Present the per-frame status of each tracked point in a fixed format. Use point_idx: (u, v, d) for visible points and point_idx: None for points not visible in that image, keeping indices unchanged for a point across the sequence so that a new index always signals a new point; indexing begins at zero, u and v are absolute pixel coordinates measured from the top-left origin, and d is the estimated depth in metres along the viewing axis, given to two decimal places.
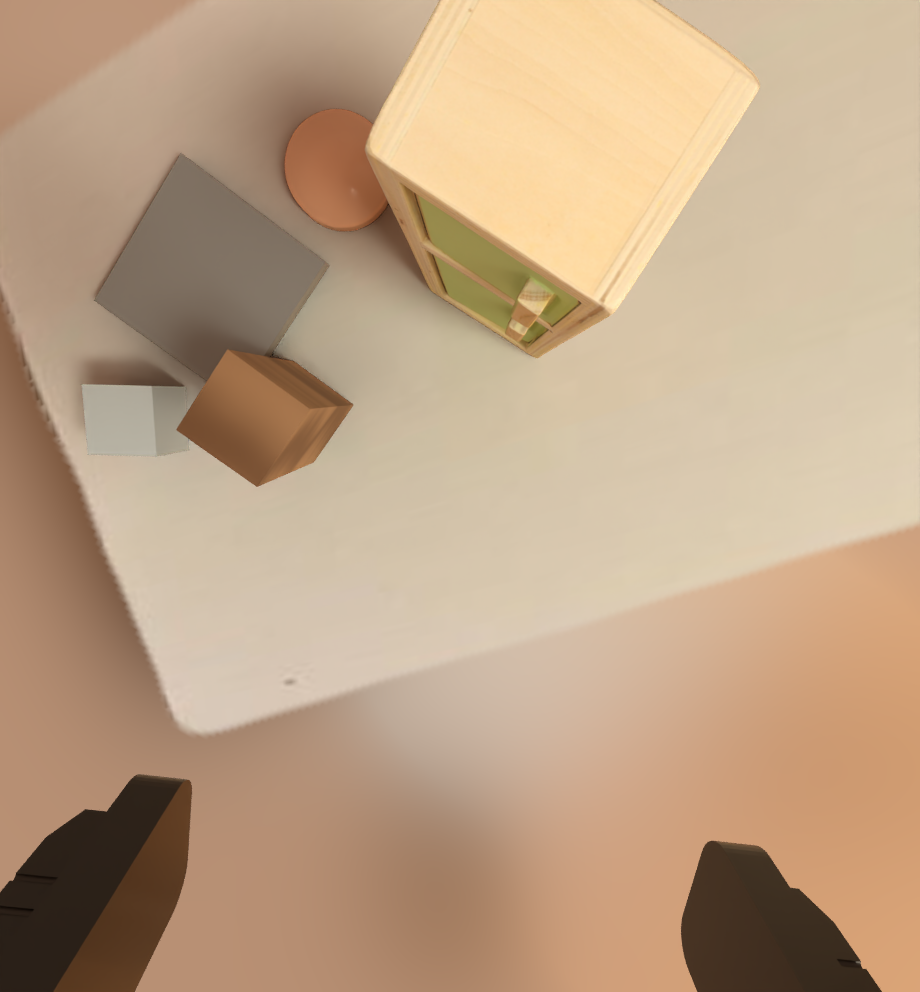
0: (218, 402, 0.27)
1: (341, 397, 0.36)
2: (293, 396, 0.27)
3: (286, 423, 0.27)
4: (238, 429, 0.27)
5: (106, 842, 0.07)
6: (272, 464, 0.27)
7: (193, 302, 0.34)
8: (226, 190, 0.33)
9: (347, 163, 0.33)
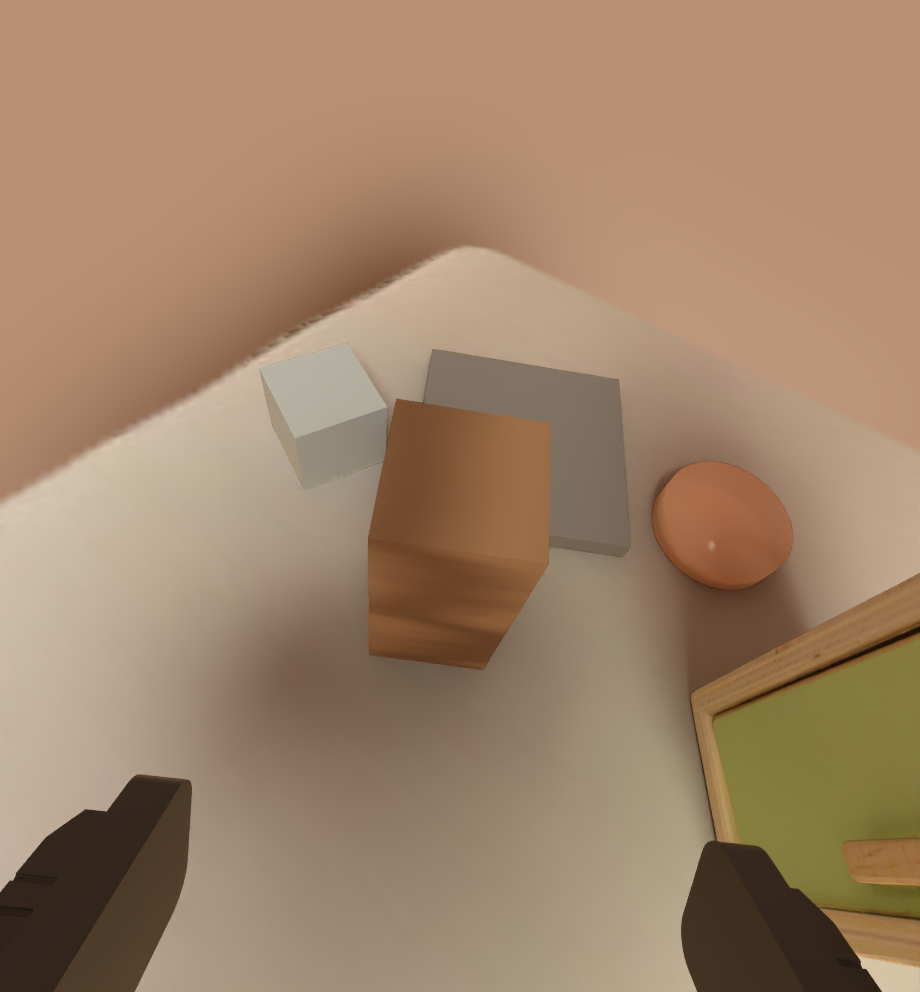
0: (471, 437, 0.16)
1: None
2: None
3: (502, 538, 0.15)
4: (447, 475, 0.15)
5: (106, 842, 0.07)
6: (420, 547, 0.14)
7: None
8: (619, 425, 0.29)
9: (740, 523, 0.26)
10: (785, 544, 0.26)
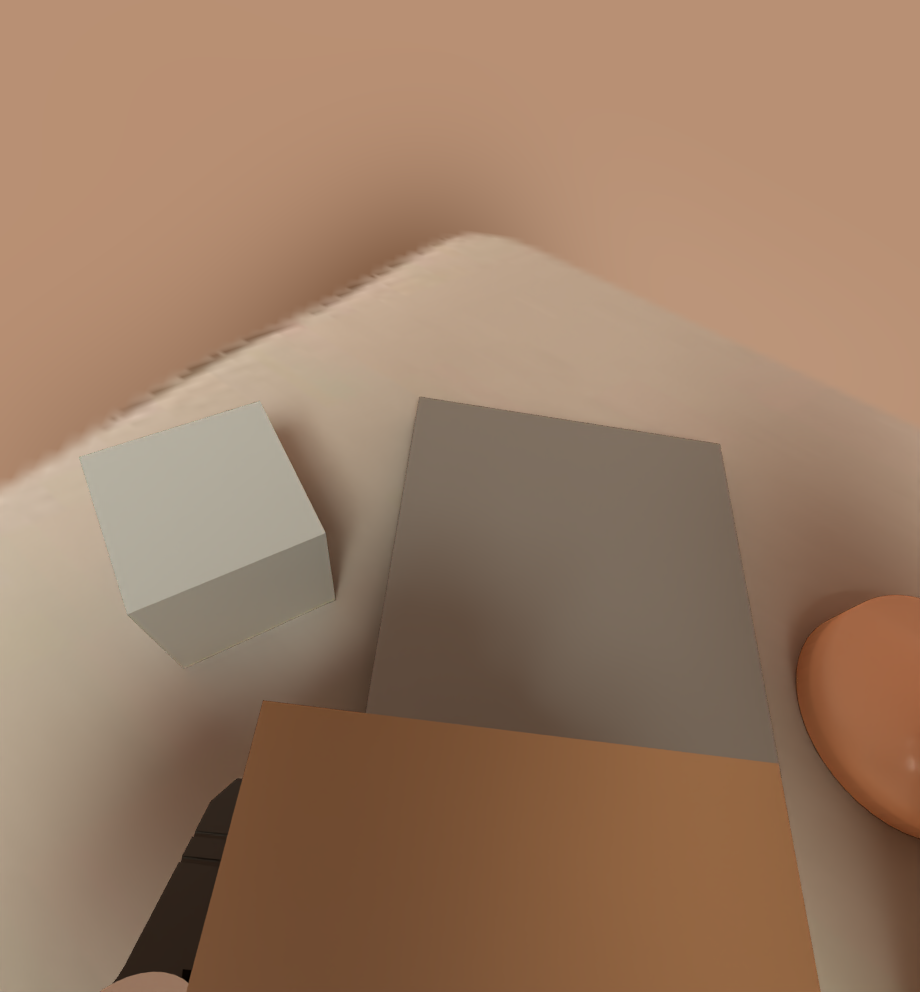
0: (523, 861, 0.04)
1: None
2: None
3: None
4: None
5: None
6: None
7: (519, 548, 0.16)
8: (731, 527, 0.17)
9: None
10: None
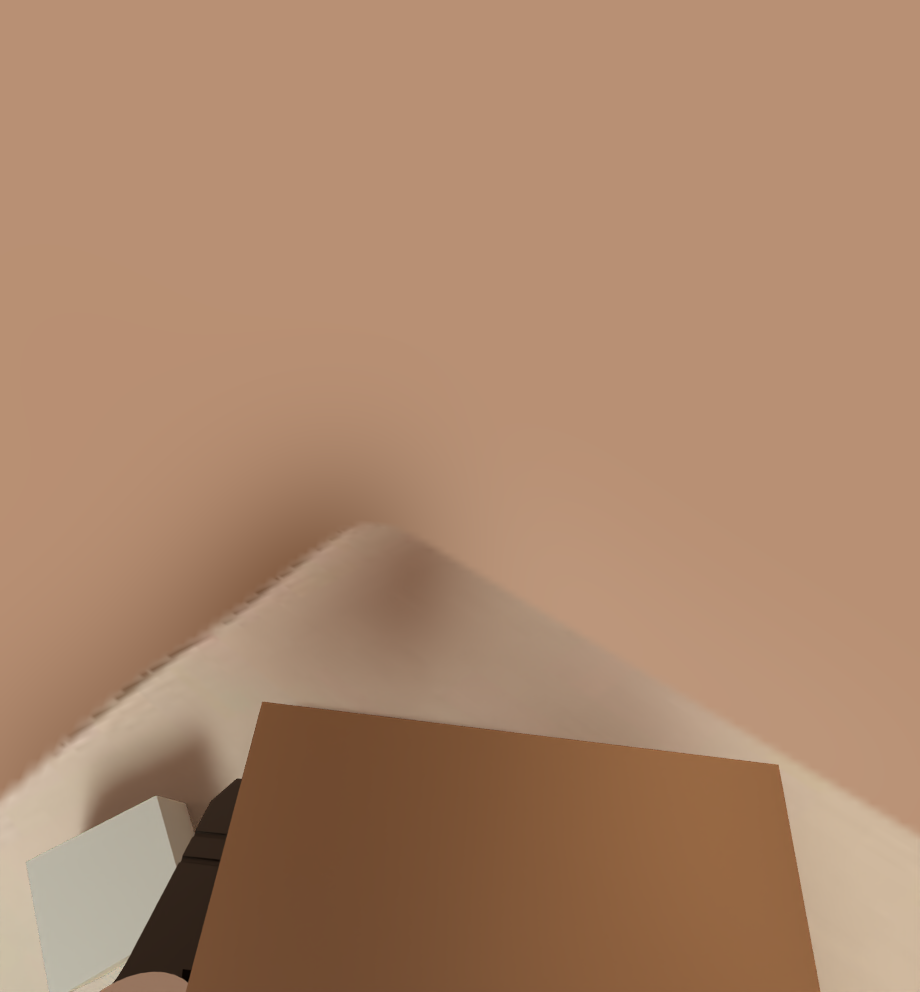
0: (523, 864, 0.04)
1: None
2: None
3: None
4: None
5: None
6: None
7: None
8: None
9: None
10: None
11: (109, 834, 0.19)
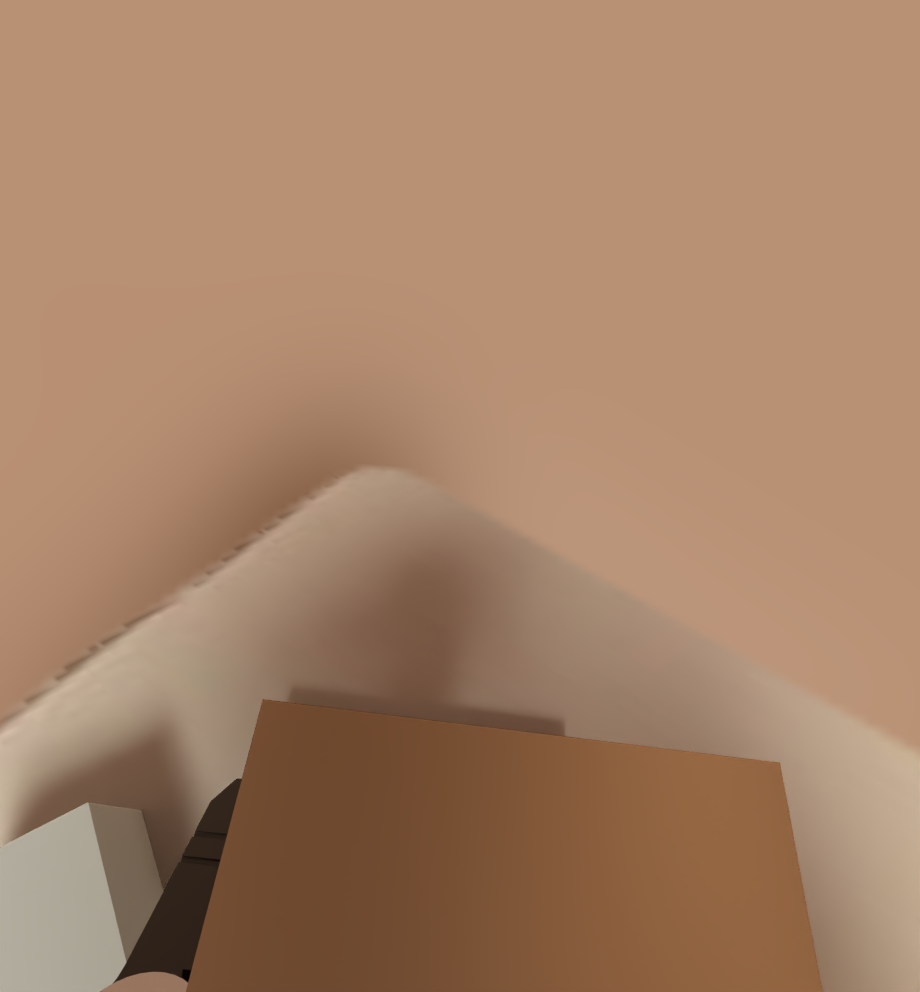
0: (523, 862, 0.04)
1: None
2: None
3: None
4: None
5: None
6: None
7: None
8: None
9: None
10: None
11: (20, 857, 0.14)
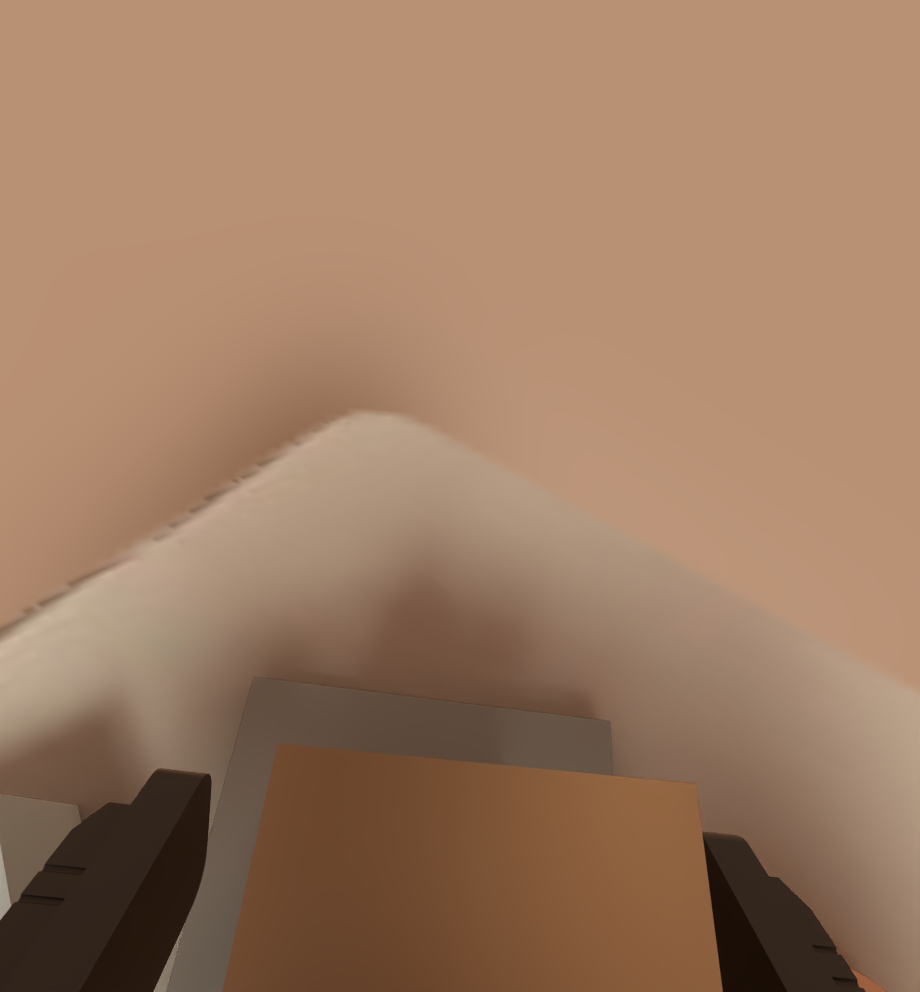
0: (487, 870, 0.06)
1: None
2: None
3: None
4: None
5: (132, 834, 0.07)
6: None
7: None
8: None
9: None
10: None
11: None
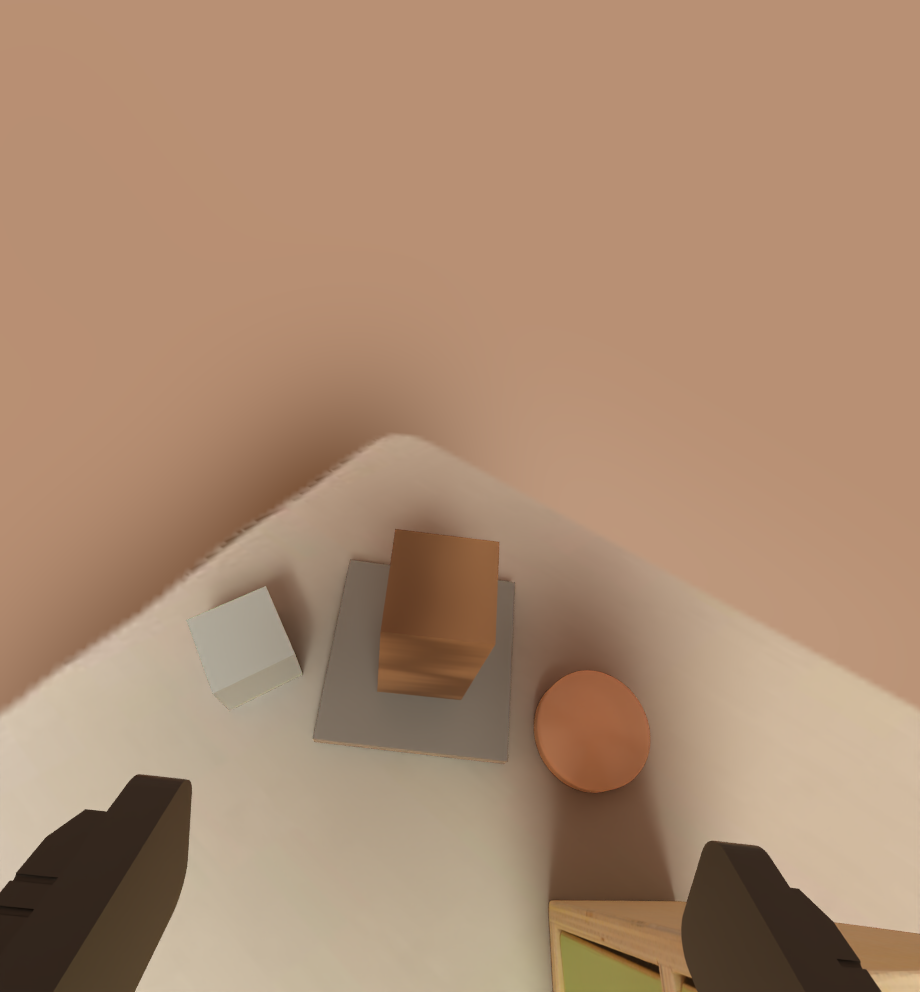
0: (445, 555, 0.24)
1: None
2: None
3: (465, 628, 0.23)
4: (430, 584, 0.24)
5: (106, 842, 0.07)
6: (413, 635, 0.22)
7: None
8: (510, 632, 0.33)
9: (604, 735, 0.31)
10: (642, 754, 0.30)
11: (237, 606, 0.29)
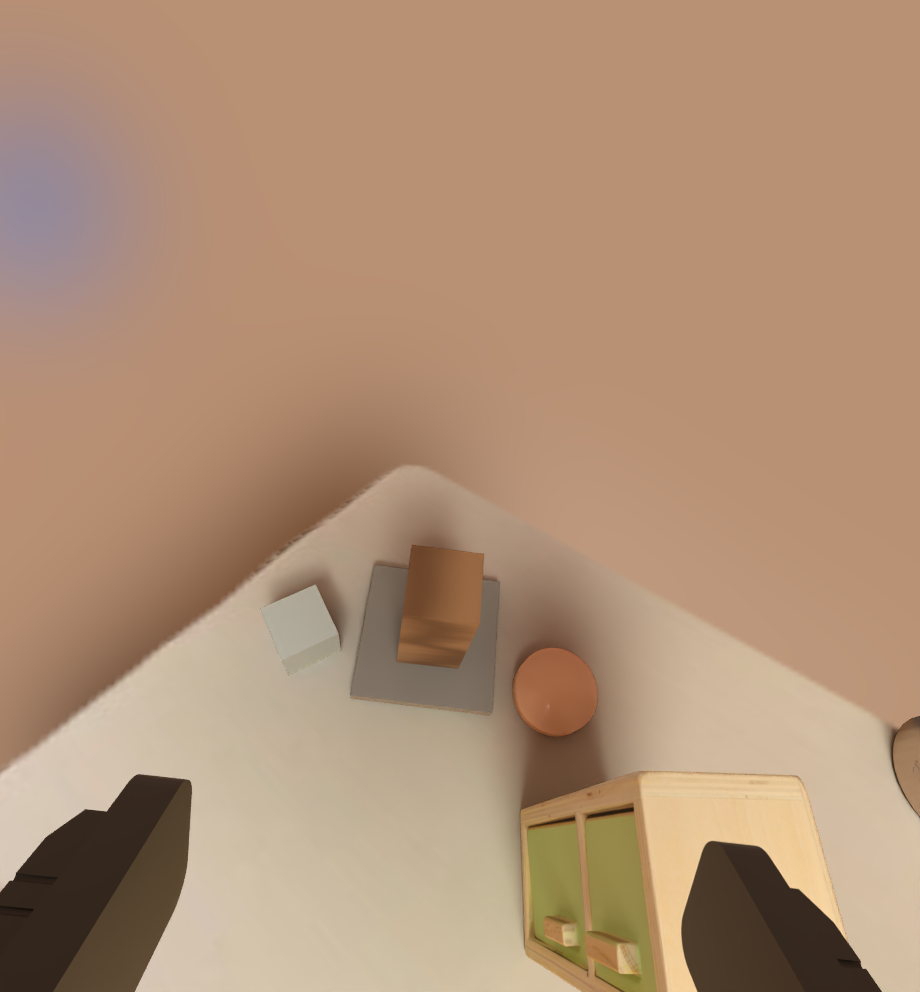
0: (446, 563, 0.35)
1: None
2: None
3: (460, 612, 0.34)
4: (436, 583, 0.35)
5: (106, 842, 0.07)
6: (425, 617, 0.33)
7: None
8: (496, 619, 0.44)
9: (564, 694, 0.42)
10: (591, 708, 0.41)
11: (296, 599, 0.40)
